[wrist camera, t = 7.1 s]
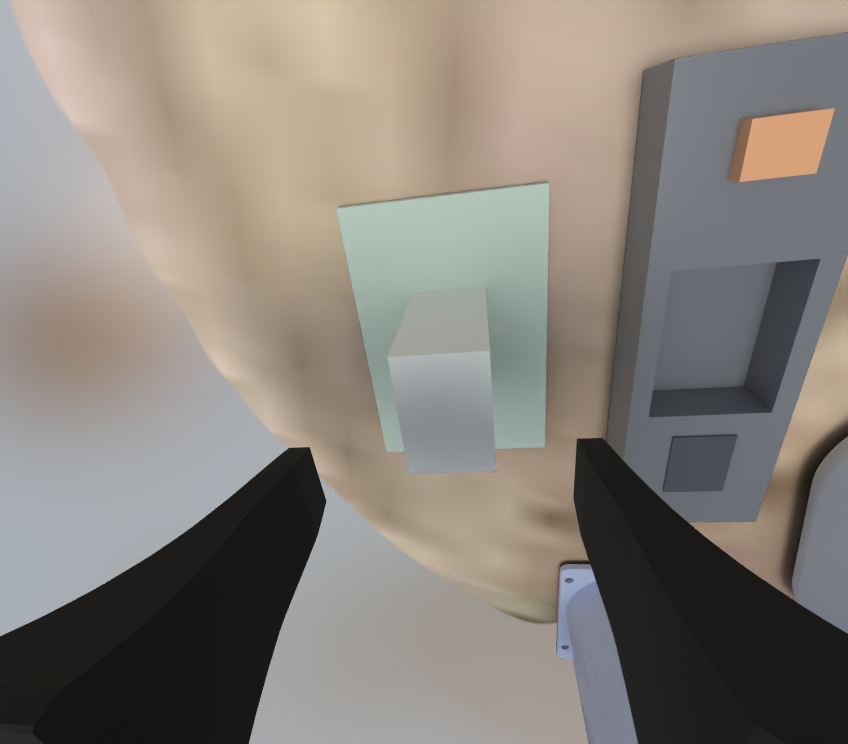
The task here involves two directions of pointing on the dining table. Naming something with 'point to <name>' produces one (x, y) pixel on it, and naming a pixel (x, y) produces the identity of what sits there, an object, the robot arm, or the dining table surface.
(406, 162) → the dining table surface
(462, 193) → the rubber mat
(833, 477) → the plastic bottle
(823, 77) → the grey slotted plate
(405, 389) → the white rectangular block
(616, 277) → the dining table surface
